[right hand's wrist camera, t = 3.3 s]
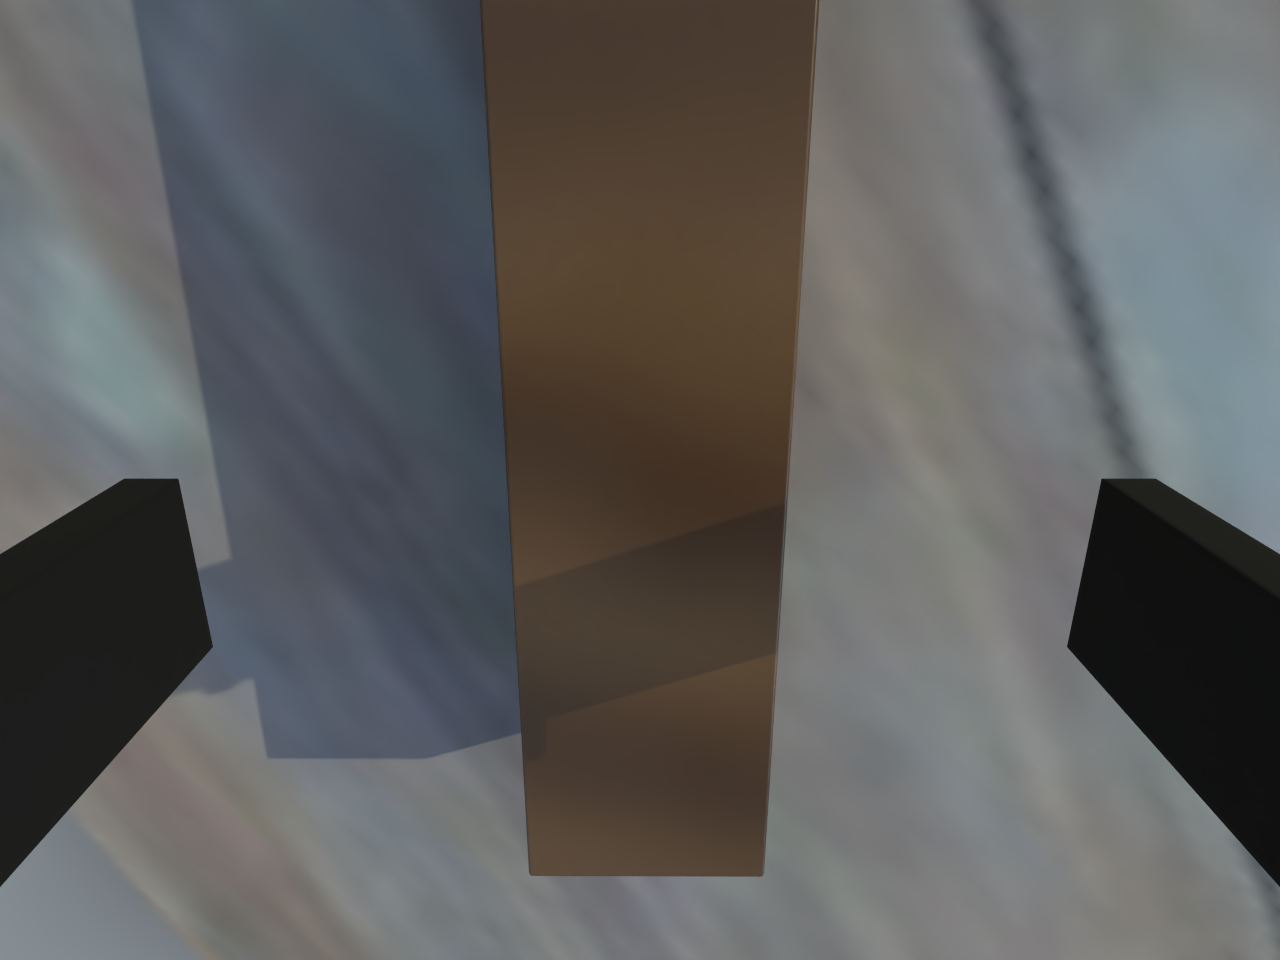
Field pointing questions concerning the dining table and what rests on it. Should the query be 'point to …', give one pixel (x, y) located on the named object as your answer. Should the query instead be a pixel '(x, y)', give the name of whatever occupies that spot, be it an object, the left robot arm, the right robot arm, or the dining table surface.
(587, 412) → the post
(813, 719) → the dining table surface
